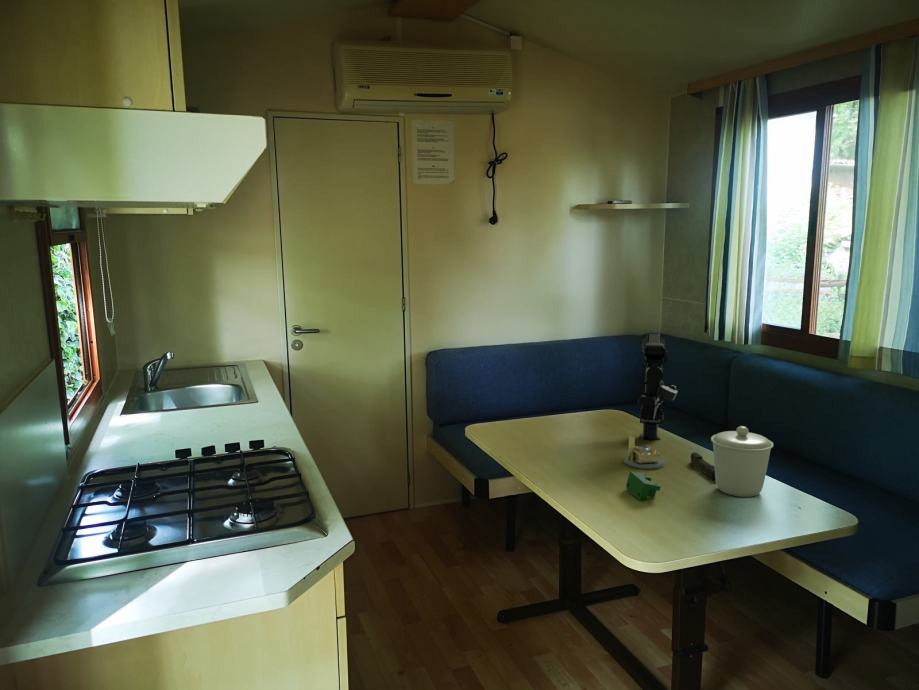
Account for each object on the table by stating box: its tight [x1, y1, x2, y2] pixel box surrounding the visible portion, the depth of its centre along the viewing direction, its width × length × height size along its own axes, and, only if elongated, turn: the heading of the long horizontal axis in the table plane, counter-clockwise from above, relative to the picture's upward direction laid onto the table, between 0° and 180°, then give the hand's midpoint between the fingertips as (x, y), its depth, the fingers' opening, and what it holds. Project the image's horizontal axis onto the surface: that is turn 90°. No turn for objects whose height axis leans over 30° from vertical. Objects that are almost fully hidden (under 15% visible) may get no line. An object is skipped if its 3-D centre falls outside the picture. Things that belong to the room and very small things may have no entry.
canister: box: [710, 425, 774, 498], centre depth 219 cm, size 18×18×21 cm
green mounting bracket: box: [625, 471, 662, 501], centre depth 218 cm, size 12×6×9 cm, turn 3°
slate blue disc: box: [623, 446, 666, 470], centre depth 247 cm, size 14×14×6 cm
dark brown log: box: [690, 451, 716, 482], centre depth 239 cm, size 19×4×5 cm, turn 5°
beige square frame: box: [627, 435, 661, 463], centre depth 247 cm, size 8×10×8 cm
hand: (652, 420), depth 259 cm, fingers closed
